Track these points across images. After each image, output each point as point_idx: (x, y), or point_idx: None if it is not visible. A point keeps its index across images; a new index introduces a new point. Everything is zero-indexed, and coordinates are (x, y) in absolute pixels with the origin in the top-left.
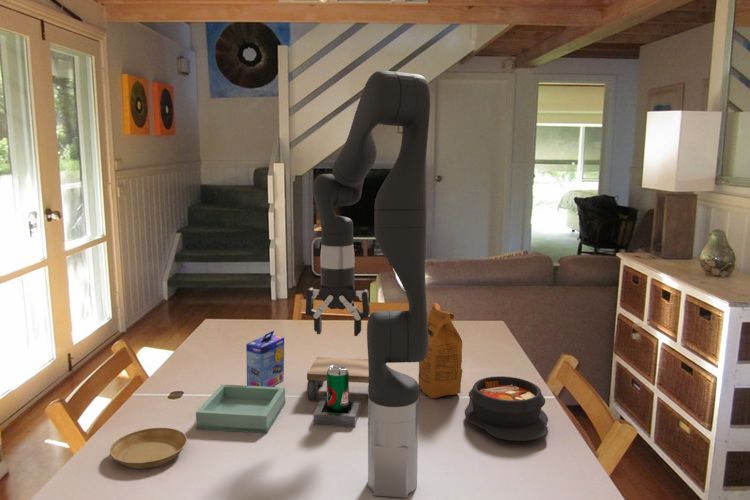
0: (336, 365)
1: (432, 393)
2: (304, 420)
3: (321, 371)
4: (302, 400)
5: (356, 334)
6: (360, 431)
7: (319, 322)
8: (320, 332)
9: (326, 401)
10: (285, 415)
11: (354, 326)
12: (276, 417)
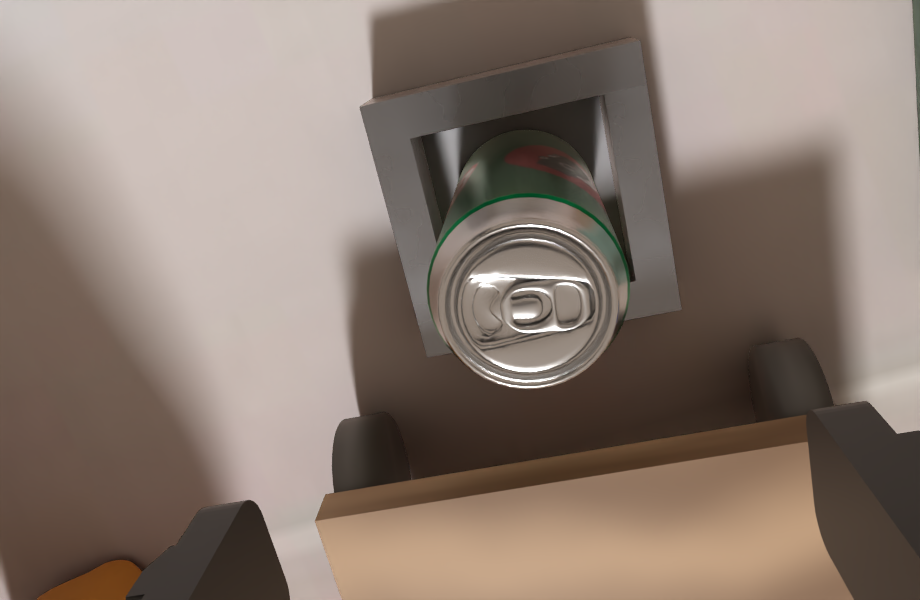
0: (560, 358)
1: (106, 576)
2: (713, 77)
3: (764, 501)
4: (825, 340)
5: (208, 512)
6: (320, 56)
7: (903, 530)
8: (815, 459)
9: (634, 277)
10: (864, 103)
11: (186, 596)
12: (915, 46)
